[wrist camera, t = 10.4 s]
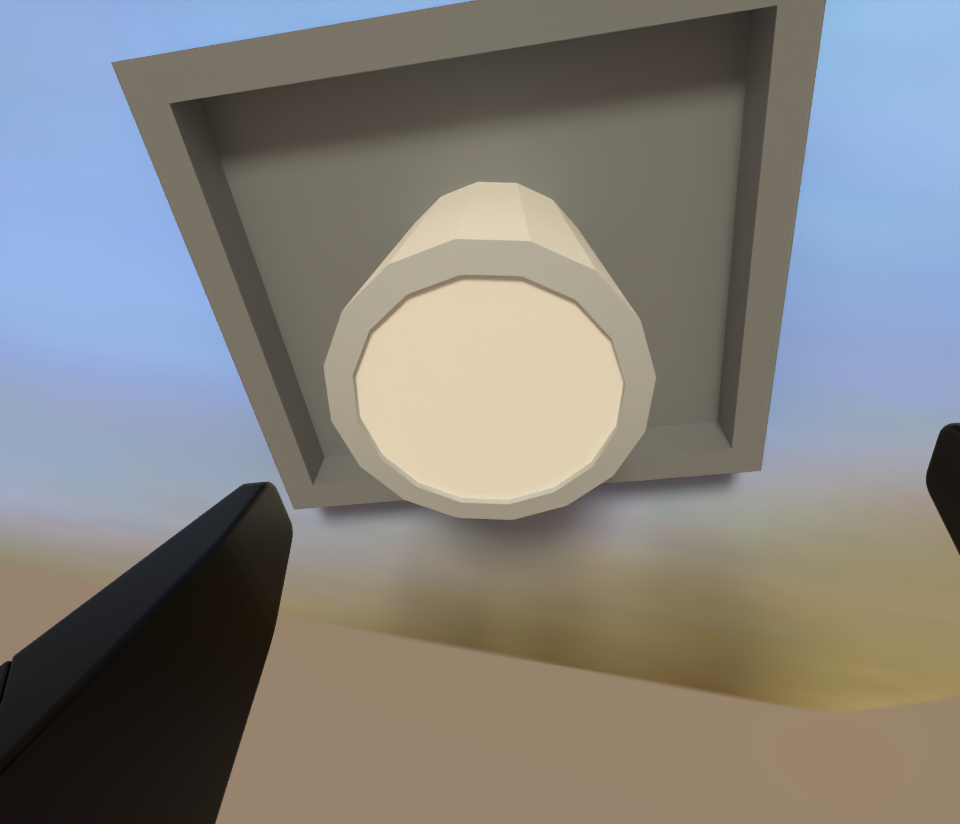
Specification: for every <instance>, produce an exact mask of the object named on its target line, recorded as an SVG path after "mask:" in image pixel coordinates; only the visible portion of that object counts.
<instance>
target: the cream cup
mask: <svg viewBox="0 0 960 824" xmlns="http://www.w3.org/2000/svg"><path fill="white" fill-rule="evenodd" d="M324 374H325V381H326V388H327V395H328V402H329V409H330V416H331V421H332V423H333V424H334V426H335V427H336V429H337V431H338V432H339V434H340V435H341V437H342V439H343V440H344V442H345V443H346V445H347V447H348V448H349V450H350V451H351V453H352V455H353V456H354V458H355V459H356V461H357V462H358V464H359V466H360V467H361V468H363V469H364V470H365V471H367V472H368V473H369V474H371V475H372V476H373V477H375V478H376V479H377V480H379V481H380V482H381V483H383V484H384V485H385V486H386V487H388V488H389V489H390V490H392V491H393V492H394V493H396V494H397V495H398V496H400V497H401V498H402V499H404V500H406V501H409V502H412V503H415V504H418V505H421V506H424V507H427V508H430V509H433V510H435V511H438V512H441V513H444V514H447V515H450V516H453V517H456V518H475V519H501V520H515V519H518V518H522V517H526V516H530V515H534V514H538V513H541V512H545V511H549V510H553V509H557V508H560V507H564V506H567V505H569V504H570V503H572V502H574V501H575V500H577V499H578V498H580V497H581V496H583V495H584V494H586V493H587V492H589V491H591V490H592V489H594V488H595V487H597V486H598V485H600V484H601V483H603V482H604V481H606V480H607V479H609V478H611V477H612V476H613V475H614V474H615V473H616V471H617V470H618V468H619V467H620V466H621V464H622V463H623V462H624V460H625V459H626V457H627V456H628V455H629V453H630V452H631V451H632V449H633V448H634V446H635V445H636V444H637V442H638V441H639V440H640V438H641V437H642V435H643V434H644V433H645V430H646V425H647V421H648V416H649V411H650V406H651V401H652V396H653V391H654V386H655V381H656V375H655V371H654V367H653V364H652V360H651V356H650V353H649V349H648V345H647V342H646V338H645V334H644V331H643V327H642V324H641V320H640V319H639V317H638V316H637V314H636V313H635V311H634V310H633V308H632V307H631V305H630V304H629V303H628V301H627V300H626V298H625V297H624V295H623V294H622V292H621V291H620V289H619V288H618V286H617V285H616V284H615V282H614V281H613V279H612V278H611V276H610V275H609V273H608V272H607V270H606V269H605V268H604V266H603V265H602V263H601V262H600V260H599V259H598V257H597V256H596V254H595V253H594V251H593V250H592V249H591V247H590V246H589V244H588V243H587V241H586V240H585V238H584V237H583V235H582V234H581V232H580V231H579V230H578V228H577V227H576V226H575V225H574V224H573V222H572V221H571V220H570V219H569V218H568V217H567V216H566V214H565V213H564V212H563V211H562V210H561V209H560V208H559V206H558V205H557V204H556V203H555V202H554V201H553V200H552V199H550V198H548V197H546V196H544V195H542V194H540V193H537V192H535V191H533V190H531V189H529V188H527V187H525V186H522V185H520V184H518V183H500V182H476V183H473V184H471V185H468V186H466V187H463V188H461V189H458V190H456V191H453V192H451V193H448V194H446V195H443V196H441V197H440V198H439V199H438V200H437V201H436V202H435V203H434V204H433V205H432V206H431V207H430V208H429V209H428V210H427V211H426V212H425V213H424V214H423V215H422V216H421V217H420V218H419V219H418V220H417V221H416V222H415V223H414V225H413V226H412V227H411V228H410V229H409V231H408V232H407V233H406V234H405V235H404V237H403V238H402V239H401V240H400V241H399V243H398V244H397V245H396V246H395V248H394V249H393V250H392V251H391V252H390V254H389V255H388V256H387V257H386V258H385V260H384V261H383V262H382V263H381V264H380V266H379V267H378V268H377V269H376V270H375V272H374V273H373V274H372V275H371V276H370V278H369V279H368V280H367V281H366V282H365V284H364V285H363V286H362V287H361V288H360V290H359V291H358V292H357V293H356V295H355V296H354V297H353V298H352V299H351V301H350V302H349V303H348V304H347V305H346V307H345V308H344V309H343V310H342V312H341V315H340V318H339V321H338V324H337V327H336V330H335V333H334V336H333V339H332V342H331V345H330V348H329V351H328V354H327V357H326V360H325V363H324Z"/></svg>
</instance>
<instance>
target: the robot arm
mask: <svg viewBox="0 0 960 824" xmlns="http://www.w3.org/2000/svg"><path fill="white" fill-rule="evenodd" d="M926 484H927V489H928V492H929V494H930V496H931V498H932V500H933V502H934V504H935V506H936V508H937V510H938V512H939V514H940V516H941V518H942V520H943V522H944V524H945V526H946V528H947V530H948V532H949V534H950V536H951V538H952V540H953V542H954V544H955V546H956V549H957V551H958V553H959V555H960V423H951V424H948V425H946V426H945V427H943V429H942V430H941V431H940V433H939V436H938V439H937V442H936V445H935V448H934V451H933V454H932V457H931V460H930V464H929V467H928V470H927V474H926ZM292 536H293V531H292V524H291V521H290V519H289V516H288V514H287V512H286V509H285V507H284V505H283V502H282V500H281V498H280V495H279V493H278V491H277V489H276V487H275V486H274V485H273V484H272V483H270V482H258V483H247V484H243V485H241V486H240V487H238V488H237V489H236V490H234V491H233V492H232V493H230V494H229V495H228V496H226V497H225V498H224V499H222V500H221V501H220V502H218V503H217V504H216V505H214V506H213V507H212V508H210V509H209V510H208V511H206V512H205V513H204V514H202V515H201V516H200V517H198V518H197V519H196V520H194V521H193V522H192V523H190V524H189V525H188V526H186V527H185V528H184V529H182V530H181V531H180V532H178V533H177V534H176V535H174V536H173V537H172V538H170V539H169V540H168V541H166V542H165V543H164V544H162V545H161V546H160V547H158V548H157V549H156V550H154V551H153V552H152V553H150V554H149V555H148V556H146V557H145V558H144V559H142V560H141V561H140V562H138V563H137V564H136V565H134V566H133V567H132V568H130V569H129V570H128V571H126V572H125V573H124V574H122V575H121V576H120V577H118V578H117V579H116V580H114V581H113V582H112V583H110V584H109V585H108V586H106V587H105V588H104V589H102V590H101V591H100V592H98V593H97V594H96V595H94V596H93V597H92V598H90V599H89V600H88V601H86V602H85V603H84V604H82V605H81V606H80V607H78V608H77V609H76V610H74V611H73V612H72V613H70V614H69V615H68V616H66V617H65V618H64V619H62V620H61V621H60V622H58V623H57V624H56V625H54V626H53V627H52V628H50V629H49V630H48V631H46V632H45V633H44V634H42V635H41V636H40V637H38V638H37V639H36V640H34V641H33V642H32V643H30V644H29V645H28V646H26V647H25V648H24V649H22V650H21V651H20V652H19V653H17V654H16V655H15V656H14V657H13V659H12V661H6V662H5V663H3V664H2V665H1V666H0V824H215V823H216V820H217V816H218V813H219V810H220V806H221V803H222V800H223V797H224V794H225V790H226V787H227V784H228V781H229V777H230V774H231V771H232V768H233V764H234V761H235V758H236V755H237V752H238V748H239V745H240V742H241V739H242V735H243V732H244V729H245V725H246V723H247V719H248V716H249V713H250V710H251V706H252V703H253V700H254V696H255V693H256V690H257V687H258V684H259V681H260V677H261V674H262V671H263V668H264V664H265V661H266V658H267V655H268V651H269V648H270V644H271V641H272V637H273V634H274V630H275V625H276V621H277V616H278V611H279V606H280V600H281V595H282V590H283V585H284V580H285V574H286V569H287V564H288V559H289V553H290V548H291V543H292Z"/></svg>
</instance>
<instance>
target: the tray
mask: <svg viewBox="0 0 960 824" xmlns="http://www.w3.org/2000/svg"><path fill="white" fill-rule="evenodd" d="M825 4H826V0H475V1H469V2H463V3H457V4H451V5H445V6H440V7H434V8H428V9H422V10H416V11H410V12H404V13H399V14H393V15H387V16H381V17H375V18H369V19H363V20H358V21H352V22H346V23H340V24H334V25H328V26H322V27H317V28H311V29H305V30H299V31H293V32H287V33H281V34H276V35H270V36H264V37H258V38H252V39H246V40H240V41H235V42H229V43H223V44H217V45H211V46H205V47H199V48H194V49H188V50H182V51H176V52H170V53H164V54H158V55H153V56H147V57H141V58H135V59H129V60H123V61H117V62H112V66H113V68H114V70H115V73H116V75H117V78H118V80H119V83H120V85H121V88H122V90H123V92H124V95H125V97H126V100H127V102H128V105H129V107H130V110H131V112H132V115H133V117H134V119H135V122H136V124H137V127H138V129H139V132H140V134H141V137H142V139H143V141H144V144H145V146H146V149H147V151H148V154H149V156H150V159H151V161H152V163H153V166H154V168H155V171H156V173H157V176H158V178H159V181H160V183H161V185H162V188H163V190H164V193H165V195H166V198H167V200H168V203H169V205H170V207H171V210H172V212H173V215H174V217H175V220H176V222H177V225H178V227H179V229H180V232H181V234H182V237H183V239H184V242H185V244H186V247H187V249H188V251H189V254H190V256H191V259H192V261H193V264H194V266H195V269H196V271H197V273H198V276H199V278H200V281H201V283H202V286H203V288H204V291H205V293H206V295H207V298H208V300H209V303H210V305H211V308H212V310H213V313H214V315H215V317H216V320H217V322H218V325H219V327H220V330H221V332H222V335H223V337H224V339H225V342H226V344H227V347H228V349H229V352H230V354H231V357H232V359H233V361H234V364H235V366H236V369H237V371H238V374H239V376H240V379H241V381H242V383H243V386H244V388H245V391H246V393H247V396H248V398H249V401H250V403H251V405H252V408H253V410H254V413H255V415H256V418H257V420H258V423H259V425H260V427H261V430H262V432H263V435H264V437H265V440H266V442H267V445H268V447H269V449H270V452H271V454H272V457H273V459H274V462H275V464H276V467H277V469H278V471H279V474H280V476H281V479H282V481H283V484H284V486H285V489H286V491H287V493H288V496H289V498H290V501H291V503H292V506H293V508H294V509H305V508H318V507H330V506H342V505H354V504H366V503H378V502H390V501H402V500H404V499H402V498H401V497H400V496H398V495H397V494H396V493H394V492H393V491H392V490H390V489H389V488H388V487H386V486H385V485H384V484H383V483H381V482H380V481H379V480H377V479H376V478H375V477H373V476H372V475H371V474H369V473H368V472H367V471H365V470H364V469H363V468H361V467H360V466H359V464H358V462H357V461H356V459H355V458H354V456H353V455H352V453H351V451H350V450H349V448H348V447H347V445H346V443H345V442H344V440H343V439H342V437H341V435H340V434H339V432H338V431H337V429H336V427H335V426H334V424H333V423H332V421H331V416H330V409H329V402H328V395H327V388H326V381H325V374H324V363H325V360H326V357H327V354H328V351H329V348H330V345H331V342H332V339H333V336H334V333H335V330H336V327H337V324H338V321H339V318H340V315H341V312H342V310H343V309H344V308H345V307H346V305H347V304H348V303H349V302H350V301H351V299H352V298H353V297H354V296H355V295H356V293H357V292H358V291H359V290H360V288H361V287H362V286H363V285H364V284H365V282H366V281H367V280H368V279H369V278H370V276H371V275H372V274H373V273H374V272H375V270H376V269H377V268H378V267H379V266H380V264H381V263H382V262H383V261H384V260H385V258H386V257H387V256H388V255H389V254H390V252H391V251H392V250H393V249H394V248H395V246H396V245H397V244H398V243H399V241H400V240H401V239H402V238H403V237H404V235H405V234H406V233H407V232H408V231H409V229H410V228H411V227H412V226H413V225H414V223H415V222H416V221H417V220H418V219H419V218H420V217H421V216H422V215H423V214H424V213H425V212H426V211H427V210H428V209H429V208H430V207H431V206H432V205H433V204H434V203H435V202H436V201H437V200H438V199H439V198H440V197H441V196H443V195H446V194H448V193H451V192H453V191H456V190H458V189H461V188H463V187H466V186H468V185H471V184H473V183H476V182H500V183H518V184H520V185H522V186H525V187H527V188H529V189H531V190H533V191H535V192H537V193H540V194H542V195H544V196H546V197H548V198H550V199H552V200H553V201H554V202H555V203H556V204H557V205H558V206H559V208H560V209H561V210H562V211H563V212H564V213H565V214H566V216H567V217H568V218H569V219H570V220H571V221H572V222H573V224H574V225H575V226H576V227H577V228H578V230H579V231H580V232H581V234H582V235H583V237H584V238H585V240H586V241H587V243H588V244H589V246H590V247H591V249H592V250H593V251H594V253H595V254H596V256H597V257H598V259H599V260H600V262H601V263H602V265H603V266H604V268H605V269H606V270H607V272H608V273H609V275H610V276H611V278H612V279H613V281H614V282H615V284H616V285H617V286H618V288H619V289H620V291H621V292H622V294H623V295H624V297H625V298H626V300H627V301H628V303H629V304H630V305H631V307H632V308H633V310H634V311H635V313H636V314H637V316H638V317H639V319H640V320H641V324H642V327H643V331H644V334H645V338H646V342H647V345H648V349H649V353H650V356H651V360H652V364H653V367H654V371H655V375H656V381H655V386H654V391H653V396H652V401H651V406H650V411H649V416H648V421H647V425H646V430H645V433H644V434H643V435H642V437H641V438H640V440H639V441H638V442H637V444H636V445H635V446H634V448H633V449H632V451H631V452H630V453H629V455H628V456H627V457H626V459H625V460H624V462H623V463H622V464H621V466H620V467H619V468H618V470H617V471H616V473H615V474H614V475H613V476H612V477H611V478H609V479H607V480H606V481H604V482H603V483H601V484H607V483H619V482H631V481H643V480H655V479H667V478H679V477H692V476H704V475H716V474H728V473H740V472H752V471H761V467H762V460H763V453H764V445H765V438H766V431H767V424H768V416H769V409H770V402H771V395H772V387H773V380H774V373H775V366H776V358H777V351H778V344H779V337H780V329H781V322H782V315H783V308H784V301H785V293H786V286H787V279H788V272H789V264H790V257H791V250H792V243H793V235H794V228H795V221H796V214H797V206H798V199H799V192H800V185H801V177H802V170H803V163H804V156H805V149H806V141H807V134H808V127H809V120H810V112H811V105H812V98H813V91H814V83H815V76H816V69H817V62H818V54H819V47H820V40H821V33H822V25H823V18H824V11H825Z"/></svg>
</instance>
